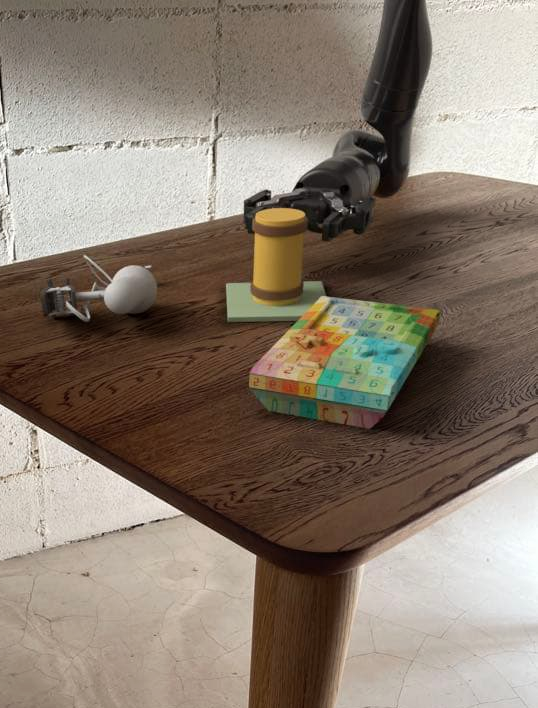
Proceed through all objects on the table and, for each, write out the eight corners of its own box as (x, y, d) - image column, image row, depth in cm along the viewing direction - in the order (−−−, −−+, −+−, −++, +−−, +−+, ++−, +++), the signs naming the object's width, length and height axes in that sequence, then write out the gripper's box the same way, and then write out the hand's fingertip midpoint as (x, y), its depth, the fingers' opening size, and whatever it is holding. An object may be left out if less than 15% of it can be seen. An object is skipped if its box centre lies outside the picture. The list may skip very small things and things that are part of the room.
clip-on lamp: (78, 309, 107) (34, 331, 91) (71, 255, 105) (25, 267, 88) (172, 301, 104) (145, 322, 88) (168, 245, 102) (139, 257, 86)
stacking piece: (312, 295, 97) (318, 211, 92) (283, 310, 93) (288, 224, 88) (269, 285, 100) (272, 204, 95) (239, 300, 97) (241, 216, 92)
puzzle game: (249, 363, 72) (321, 287, 87) (247, 414, 75) (318, 332, 89) (390, 385, 68) (442, 301, 82) (383, 438, 70) (435, 348, 85)
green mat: (321, 286, 101) (321, 280, 101) (332, 320, 92) (332, 315, 92) (226, 288, 102) (226, 283, 102) (227, 322, 93) (227, 317, 93)
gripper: (278, 156, 107) (227, 187, 95) (395, 163, 101) (355, 197, 89) (275, 219, 111) (226, 256, 100) (387, 229, 105) (348, 269, 94)
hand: (287, 228), depth 95 cm, fingers open, 8 cm apart
